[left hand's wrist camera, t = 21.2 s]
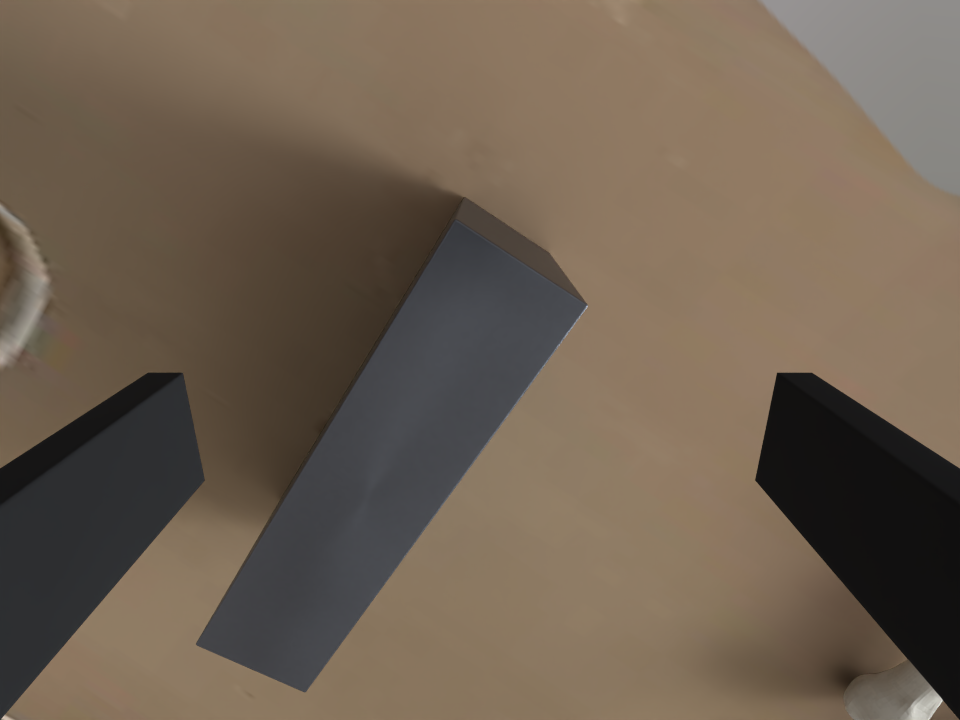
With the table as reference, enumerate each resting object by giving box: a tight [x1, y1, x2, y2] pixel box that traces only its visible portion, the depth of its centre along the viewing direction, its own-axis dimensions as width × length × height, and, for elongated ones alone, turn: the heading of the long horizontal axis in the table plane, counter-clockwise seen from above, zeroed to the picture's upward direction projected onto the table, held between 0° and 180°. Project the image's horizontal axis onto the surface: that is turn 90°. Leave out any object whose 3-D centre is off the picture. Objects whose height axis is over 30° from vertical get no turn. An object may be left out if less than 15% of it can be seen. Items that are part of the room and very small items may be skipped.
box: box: [196, 197, 588, 692], centre depth 30 cm, size 25×6×12 cm, turn 147°
